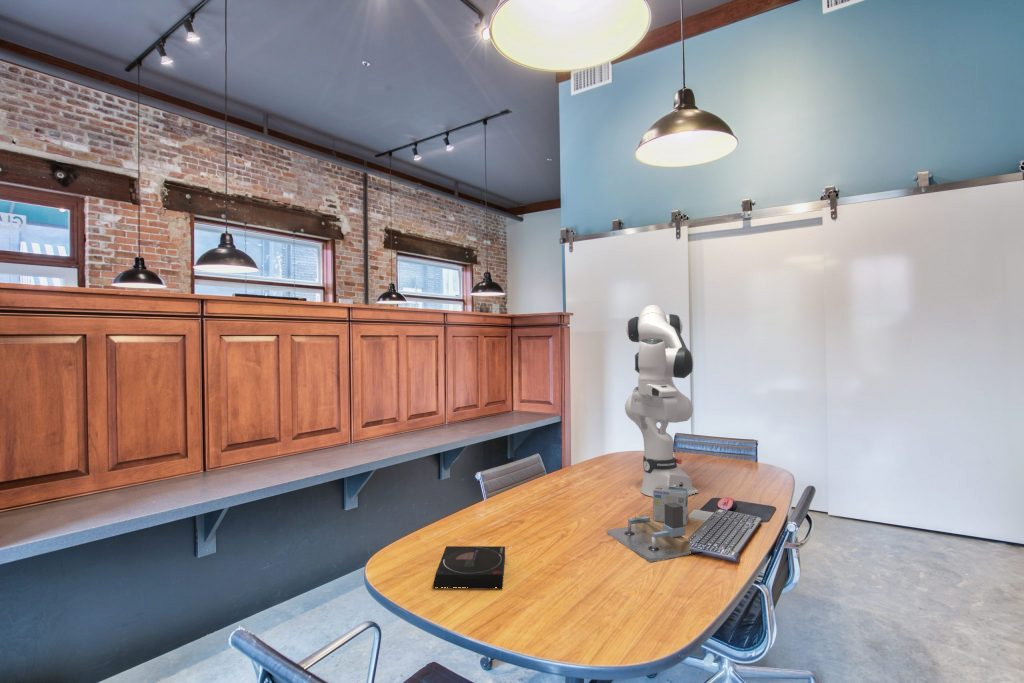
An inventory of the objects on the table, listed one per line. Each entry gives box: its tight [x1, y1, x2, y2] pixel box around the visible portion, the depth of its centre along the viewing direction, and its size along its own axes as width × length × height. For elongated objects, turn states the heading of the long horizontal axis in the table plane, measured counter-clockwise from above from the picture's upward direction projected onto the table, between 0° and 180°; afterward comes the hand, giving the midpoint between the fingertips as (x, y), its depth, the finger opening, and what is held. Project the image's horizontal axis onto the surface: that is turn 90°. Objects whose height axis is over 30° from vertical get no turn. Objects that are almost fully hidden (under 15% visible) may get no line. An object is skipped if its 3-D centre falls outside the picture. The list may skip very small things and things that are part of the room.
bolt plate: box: [606, 525, 692, 563], centre depth 148 cm, size 18×22×1 cm
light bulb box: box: [652, 485, 689, 526], centre depth 166 cm, size 11×7×11 cm, turn 65°
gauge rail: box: [627, 514, 691, 553], centre depth 148 cm, size 9×22×4 cm, turn 21°
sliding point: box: [652, 502, 686, 549], centre depth 142 cm, size 10×4×12 cm, turn 111°
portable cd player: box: [432, 545, 506, 589], centre depth 129 cm, size 16×17×4 cm
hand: (652, 431), depth 158 cm, fingers open, 8 cm apart
